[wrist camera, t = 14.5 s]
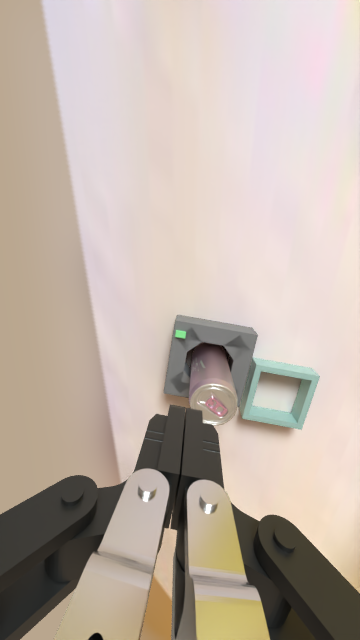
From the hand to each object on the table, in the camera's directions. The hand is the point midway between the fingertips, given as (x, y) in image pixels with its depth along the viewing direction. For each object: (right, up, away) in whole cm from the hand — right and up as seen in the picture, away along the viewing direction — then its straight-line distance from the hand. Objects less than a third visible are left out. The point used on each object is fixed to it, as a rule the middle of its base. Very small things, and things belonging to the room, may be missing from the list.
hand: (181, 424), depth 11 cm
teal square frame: (+17, -8, +33) cm, 38 cm away
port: (+5, -2, +32) cm, 33 cm away
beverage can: (+5, -2, +32) cm, 33 cm away
